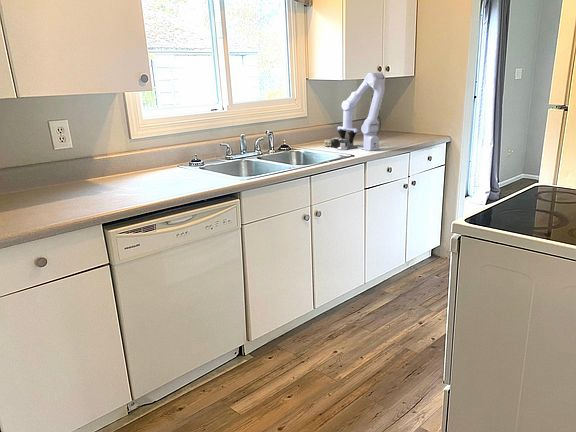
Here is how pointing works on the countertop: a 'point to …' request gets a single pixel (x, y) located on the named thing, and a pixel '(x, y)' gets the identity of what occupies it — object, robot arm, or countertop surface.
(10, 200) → the countertop surface
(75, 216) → the countertop surface
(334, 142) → the pneumatic valve
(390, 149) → the countertop surface
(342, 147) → the ratchet
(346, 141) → the hollow square tube
